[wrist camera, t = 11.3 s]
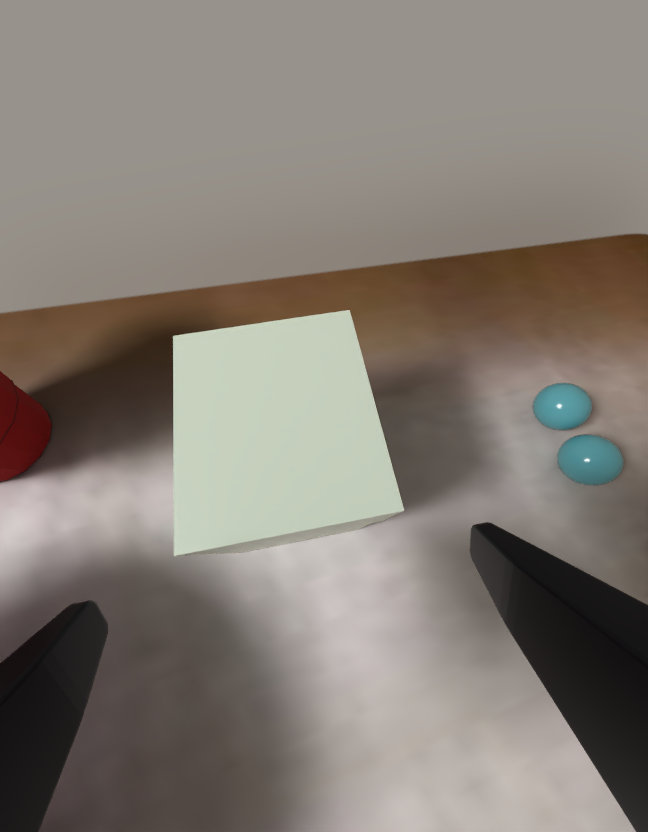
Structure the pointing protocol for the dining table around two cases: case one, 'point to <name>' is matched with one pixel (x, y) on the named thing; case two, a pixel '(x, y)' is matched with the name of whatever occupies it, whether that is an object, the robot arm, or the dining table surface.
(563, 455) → the teal marble
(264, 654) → the dining table surface
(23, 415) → the plastic cup
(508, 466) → the dining table surface
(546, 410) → the teal marble
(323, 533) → the sage cover
